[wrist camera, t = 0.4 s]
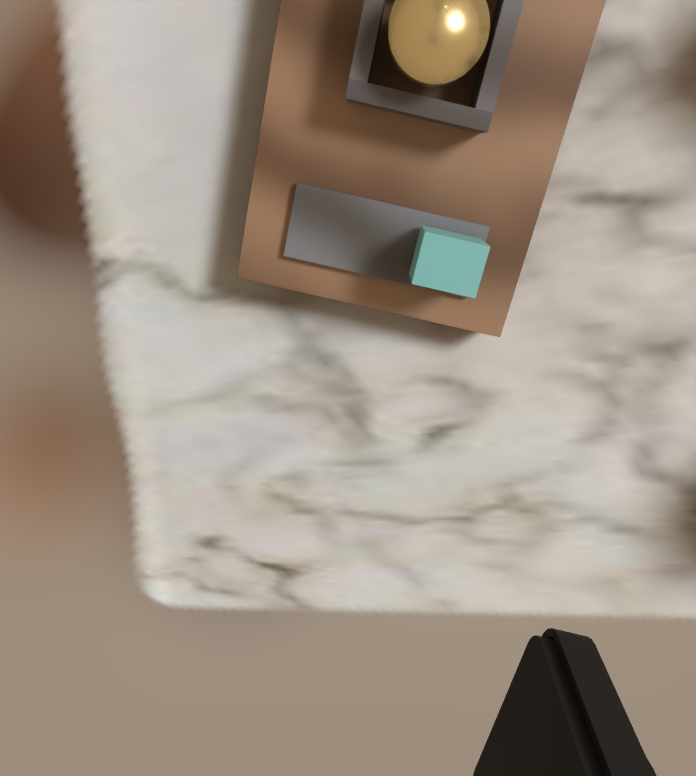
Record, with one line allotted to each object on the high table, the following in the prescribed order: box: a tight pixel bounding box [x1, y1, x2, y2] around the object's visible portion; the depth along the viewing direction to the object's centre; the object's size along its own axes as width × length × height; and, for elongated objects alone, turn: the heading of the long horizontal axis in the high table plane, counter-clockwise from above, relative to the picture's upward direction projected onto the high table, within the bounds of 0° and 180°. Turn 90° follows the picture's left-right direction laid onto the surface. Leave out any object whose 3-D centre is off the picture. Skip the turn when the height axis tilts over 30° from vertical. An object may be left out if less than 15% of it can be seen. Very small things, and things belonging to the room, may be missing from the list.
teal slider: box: [409, 225, 491, 298], centre depth 30 cm, size 2×3×3 cm
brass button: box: [388, 0, 490, 88], centre depth 27 cm, size 4×4×2 cm
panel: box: [237, 0, 606, 337], centre depth 29 cm, size 25×14×5 cm, turn 168°
